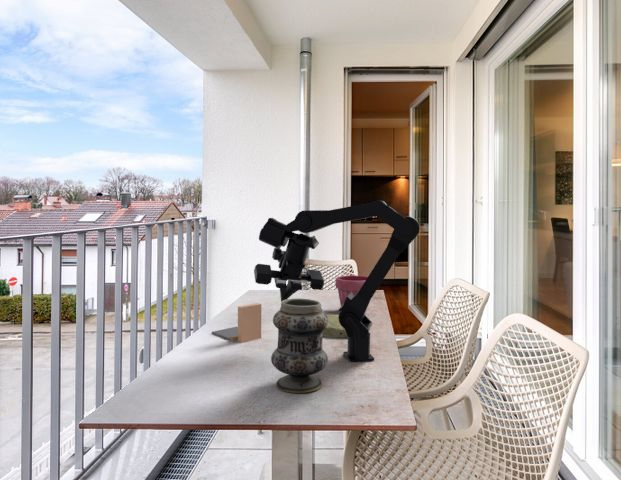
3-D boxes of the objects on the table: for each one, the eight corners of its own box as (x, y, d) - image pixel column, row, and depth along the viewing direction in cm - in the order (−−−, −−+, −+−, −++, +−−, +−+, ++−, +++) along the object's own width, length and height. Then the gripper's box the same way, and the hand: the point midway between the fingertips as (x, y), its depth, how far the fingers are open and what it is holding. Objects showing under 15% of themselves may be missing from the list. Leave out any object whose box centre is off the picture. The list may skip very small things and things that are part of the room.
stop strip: (259, 335, 132) (259, 331, 132) (231, 341, 125) (231, 337, 125) (257, 334, 133) (257, 330, 133) (229, 340, 126) (229, 336, 125)
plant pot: (328, 308, 169) (329, 275, 168) (361, 306, 174) (362, 274, 173) (344, 317, 156) (345, 281, 155) (379, 314, 160) (380, 279, 160)
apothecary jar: (338, 384, 95) (340, 301, 94) (300, 401, 86) (301, 310, 85) (298, 370, 103) (299, 294, 102) (259, 384, 94) (260, 301, 93)
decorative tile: (307, 321, 152) (307, 310, 151) (365, 325, 148) (365, 314, 147) (293, 336, 133) (293, 324, 133) (360, 341, 129) (360, 328, 129)
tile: (261, 337, 129) (261, 304, 128) (241, 342, 124) (241, 307, 123) (256, 336, 131) (256, 302, 130) (237, 341, 126) (237, 306, 125)
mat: (256, 334, 132) (256, 333, 132) (231, 340, 126) (231, 338, 126) (236, 328, 139) (236, 326, 139) (211, 333, 133) (211, 331, 133)
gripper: (322, 243, 126) (308, 286, 133) (258, 234, 120) (247, 280, 128) (331, 265, 117) (315, 310, 124) (262, 257, 111) (250, 305, 118)
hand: (282, 301), depth 124 cm, fingers closed
